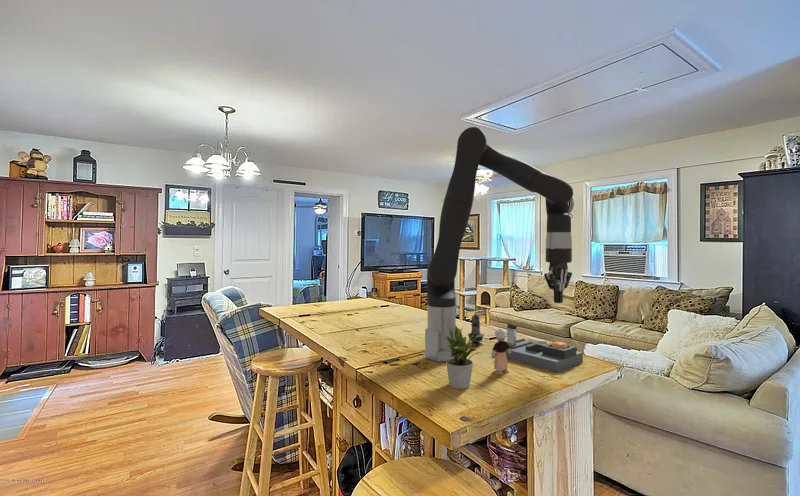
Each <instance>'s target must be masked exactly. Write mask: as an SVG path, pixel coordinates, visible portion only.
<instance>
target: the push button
mask: <svg viewBox="0 0 800 496" xmlns="http://www.w3.org/2000/svg"><path fill="white" fill-rule="evenodd" d="M551 343H552V347H554V348H558V349H566V348H567V345H568V343H566V342H562V341H552V342H551Z"/></svg>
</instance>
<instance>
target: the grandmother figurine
mask: <svg viewBox="0 0 800 496" xmlns="http://www.w3.org/2000/svg"><path fill="white" fill-rule="evenodd" d="M494 335H495V338H496V340H497V341H498V342H495V343H494V345H493V348H492V351H491V354H490V355H491V356H492V357H495V358H494V365H493V366H494V367H493V369H494V371H493V372H494V374H496V375H500V376H502V375H504V374H508V373H509V370H508V369H509V368H508V359H507V357H506V349H507V351H508V353H509V354H511V351H510V347H509V345H508V344H507V340H506V338H507V331H506V330H505V329H503V328H497V329H496V330H495V332H494ZM495 353H496V355H495Z"/></svg>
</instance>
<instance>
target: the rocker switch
mask: <svg viewBox="0 0 800 496" xmlns="http://www.w3.org/2000/svg"><path fill="white" fill-rule="evenodd" d="M527 340H528V342H532V343H537V344H545V345H547V343H548V342H547V341H546V340H541V339H536V338H528V339H527Z"/></svg>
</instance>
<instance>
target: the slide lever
mask: <svg viewBox="0 0 800 496" xmlns="http://www.w3.org/2000/svg"><path fill="white" fill-rule="evenodd" d="M517 328H518V326H517V324H515V323H508V324H507V327H506V334H507V336H506V342H507V344H508V345H509V346H516V340H517Z"/></svg>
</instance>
